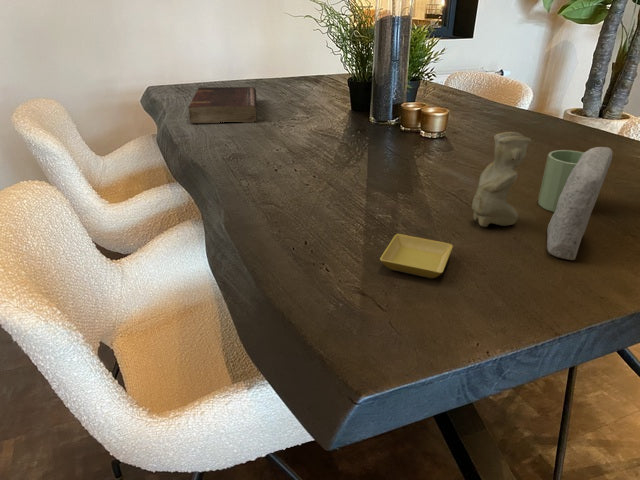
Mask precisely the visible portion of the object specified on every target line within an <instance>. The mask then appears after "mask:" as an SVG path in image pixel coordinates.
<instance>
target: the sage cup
mask: <svg viewBox="0 0 640 480" xmlns="http://www.w3.org/2000/svg"><path fill="white" fill-rule="evenodd" d="M583 153H585V152H584V151H578V150H573V149H572V150H571V149H560V150H559V149H558V150H557V149H556V150H552V151H550V152H549V153H548V154H547V158H546V162H545V167H544V170H543V176H542V180H541V186H540V188H539V193H538V200H537V202H538V205H539V206H540V207H541V208H543V209H544V210H547V211H550V212H553V213H555V211H556V208H557V203H558V200H559V197H560V195H561V193H562V191H563V188H564V186H565V184H566V182H567V179H568V177H569V175H570V174H571V172H572V170H573V168H574V167H575V165H576V164H577V162H578V161H579V159H580V157H581V156H582V154H583Z"/></svg>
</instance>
